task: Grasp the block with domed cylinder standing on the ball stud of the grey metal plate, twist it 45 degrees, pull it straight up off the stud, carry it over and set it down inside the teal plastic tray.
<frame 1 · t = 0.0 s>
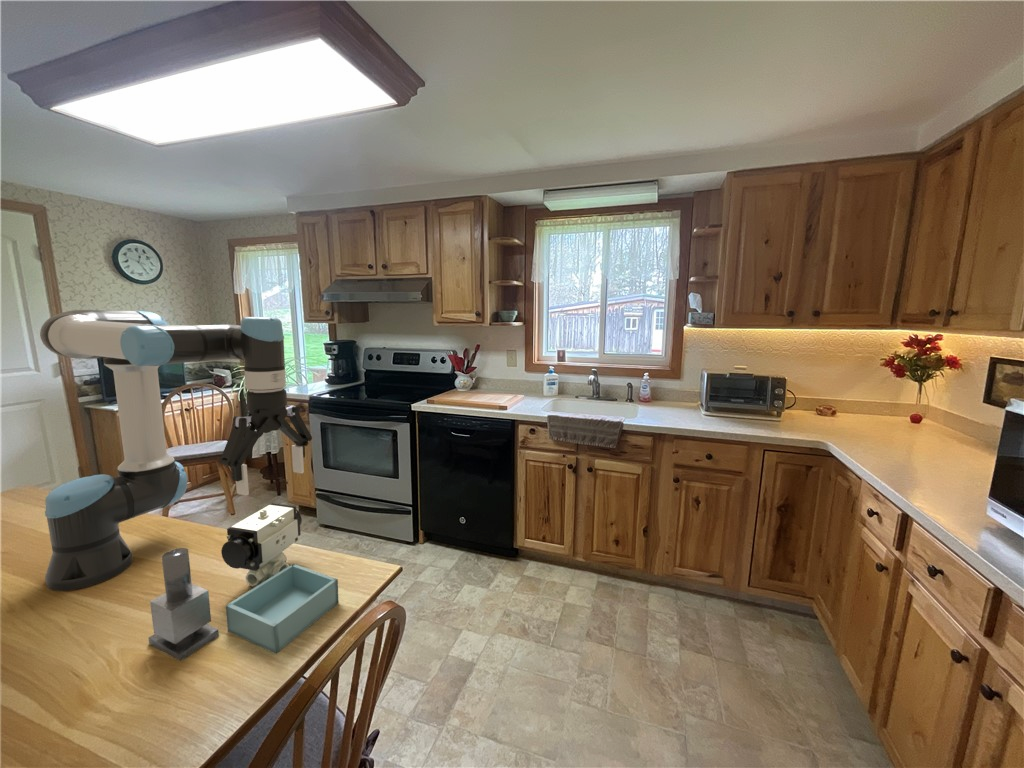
hand: (272, 482, 92), 28 cm above the table, fingers open, 13 cm apart
stud plate: (184, 639, 83), on the table
block with domed cylinder: (183, 627, 82), point 3 cm above the table
ball valve: (269, 577, 103), on the table
bin: (286, 616, 90), on the table
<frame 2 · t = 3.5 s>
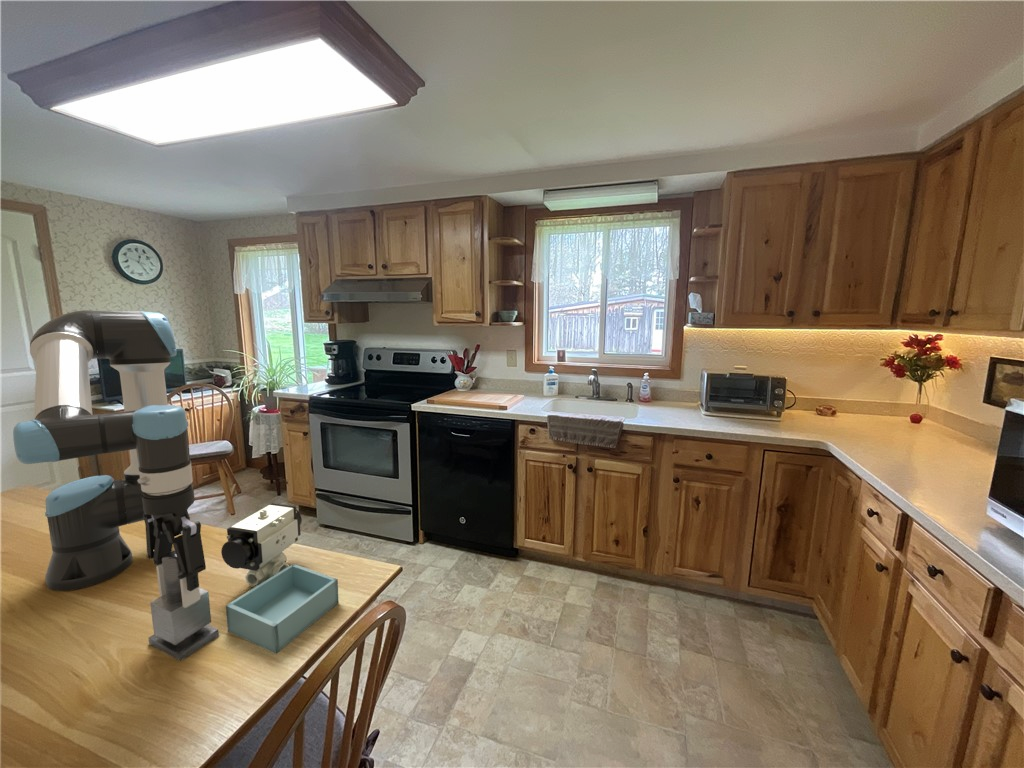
hand: (179, 597, 81), 9 cm above the table, fingers closed on block with domed cylinder, 7 cm apart
block with domed cylinder: (183, 627, 82), point 3 cm above the table, touching gripper, stud plate
everything else where it was.
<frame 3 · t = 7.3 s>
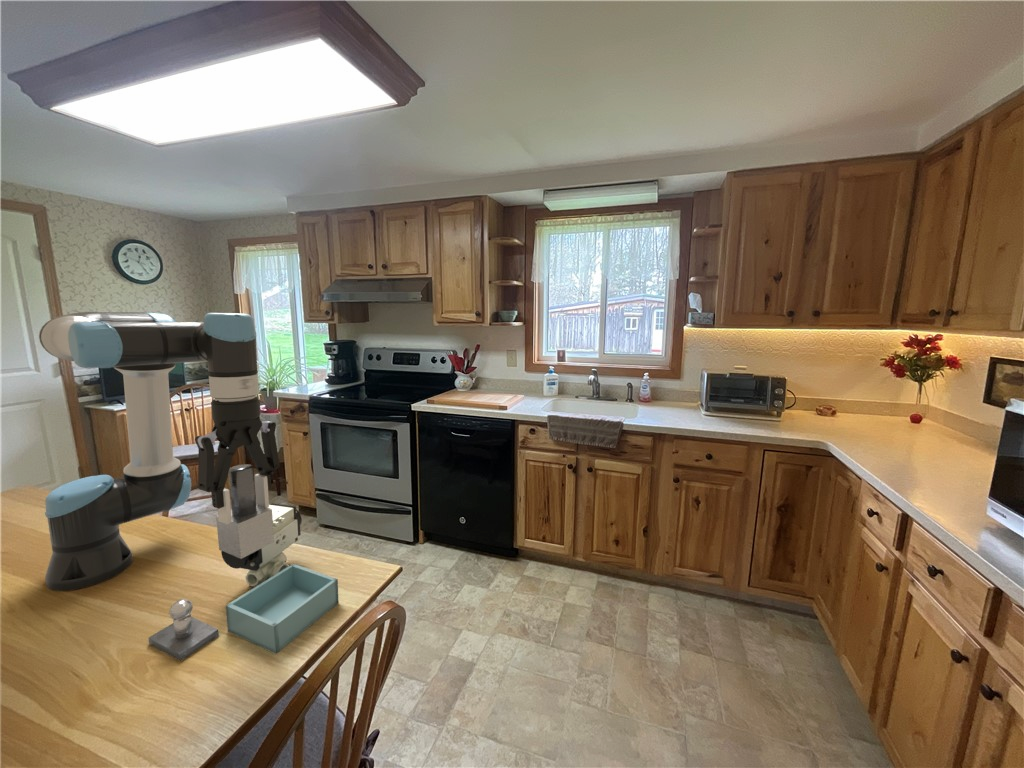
hand: (244, 513, 80), 27 cm above the table, fingers closed on block with domed cylinder, 7 cm apart
block with domed cylinder: (247, 545, 81), point 20 cm above the table, touching gripper
everything else where it was.
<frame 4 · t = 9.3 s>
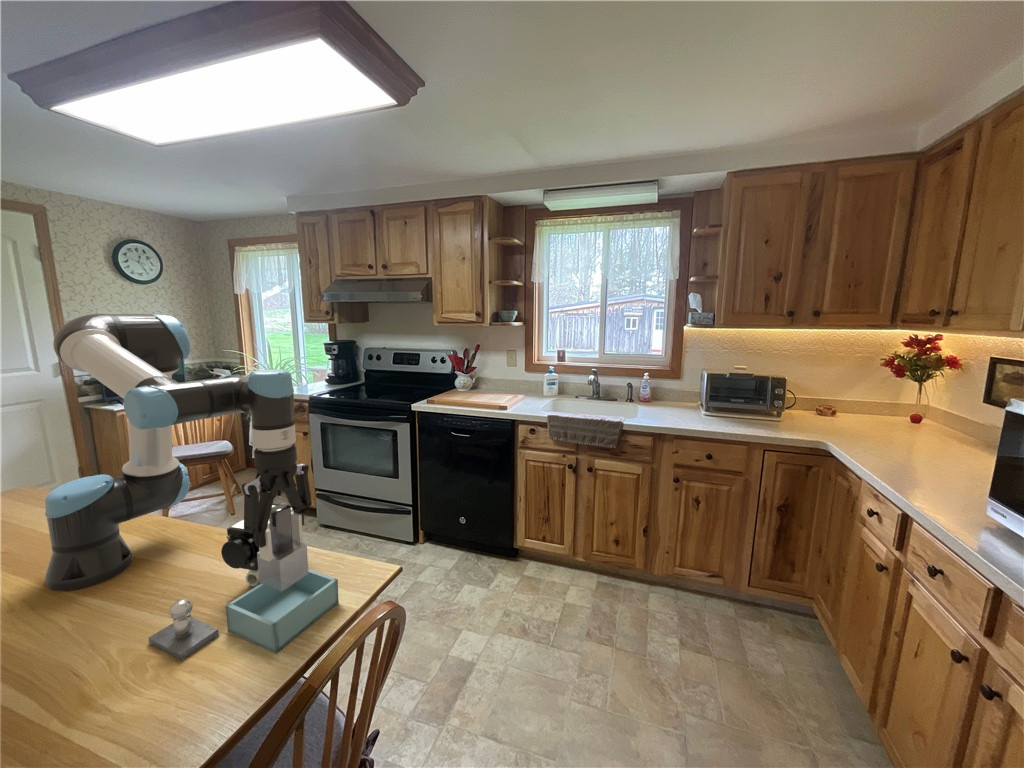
hand: (282, 549, 87), 16 cm above the table, fingers closed on block with domed cylinder, 7 cm apart
block with domed cylinder: (284, 578, 89), point 9 cm above the table, touching gripper
everything else where it was.
when the fingers open (11 cm above the table, at t = 10.9 s): block with domed cylinder drops 3 cm, resting on bin.
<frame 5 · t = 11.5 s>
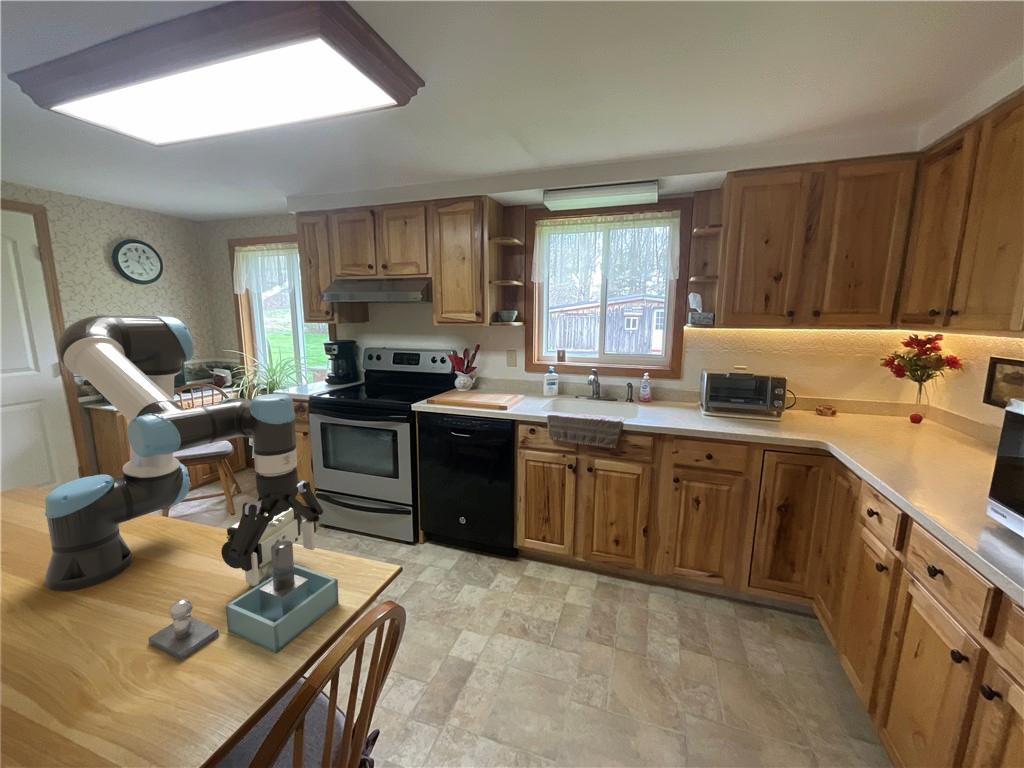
hand: (282, 564, 88), 12 cm above the table, fingers open, 13 cm apart
block with domed cylinder: (285, 613, 90), point 1 cm above the table, touching bin
everything else where it was.
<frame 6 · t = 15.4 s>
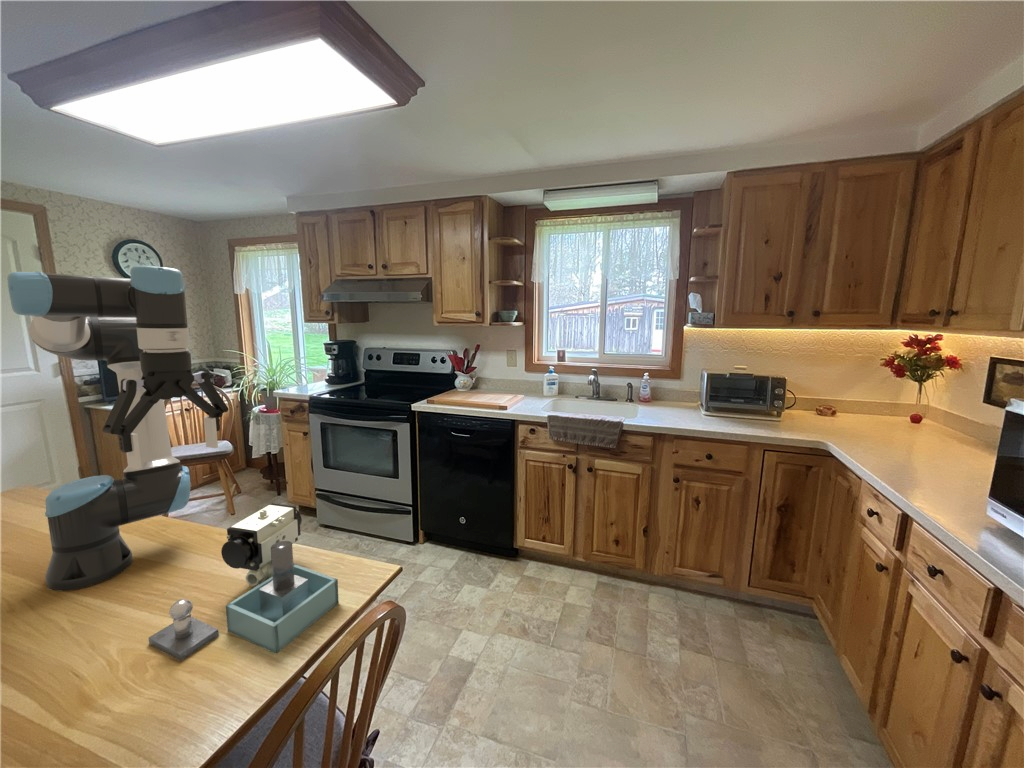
hand: (176, 456, 82), 37 cm above the table, fingers open, 13 cm apart
nothing on the table moved.
at the end: block with domed cylinder inside the target area on the bin (0.0 cm from its centre), point 0.8 cm above the bin's base; the gripper is holding nothing; block with domed cylinder moved 18.0 cm from its start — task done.
